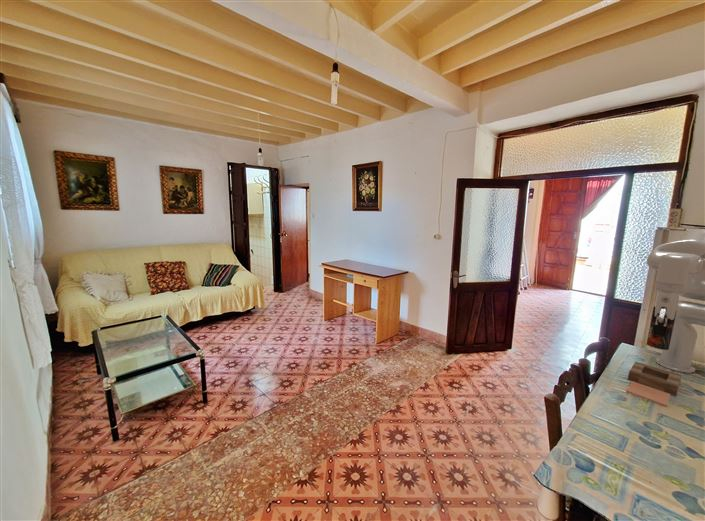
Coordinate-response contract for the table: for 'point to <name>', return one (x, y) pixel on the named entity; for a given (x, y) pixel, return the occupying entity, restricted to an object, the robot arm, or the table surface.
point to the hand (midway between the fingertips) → (660, 332)
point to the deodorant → (657, 340)
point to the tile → (648, 393)
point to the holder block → (655, 378)
